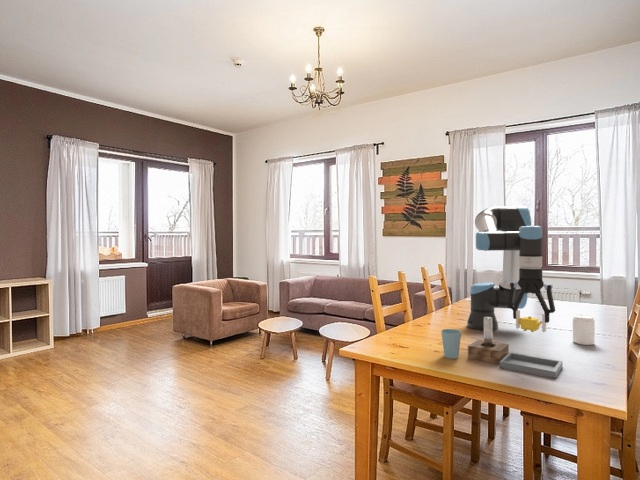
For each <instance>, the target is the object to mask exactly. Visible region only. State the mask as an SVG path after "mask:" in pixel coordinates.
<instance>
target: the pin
mask: <svg viewBox="0 0 640 480" xmlns="http://www.w3.org/2000/svg"><path fill="white" fill-rule="evenodd" d="M493 337H494V335H493V330H492V317H484V330H483V340H484V346H487V347H493V342H494V341H493Z"/></svg>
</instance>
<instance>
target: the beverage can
mask: <svg viewBox="0 0 640 480" xmlns="http://www.w3.org/2000/svg"><path fill="white" fill-rule="evenodd" d="M595 321H596V320H595V319H594V317H593V316H590V315H585V314H575V315H573V317H572V342H574V343H575V344H577V345H581V346H592V345H594V344H596V343H595V340H596V339H595V330H596V329H595V327H596V326H595Z"/></svg>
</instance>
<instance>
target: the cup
mask: <svg viewBox="0 0 640 480" xmlns="http://www.w3.org/2000/svg"><path fill="white" fill-rule="evenodd" d="M440 331H441V332H440V333H441V338H442V339H441V340H442V348H443V349H442V350H443V356H444V358H447V359H450V360H451V359H453V360H454V359H455V360H456V359H458V358H459V356H460V346H461V336H462V330H460V329H459V330H458V329H456V328H455V329H453V328H444V329H442V330H440Z"/></svg>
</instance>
